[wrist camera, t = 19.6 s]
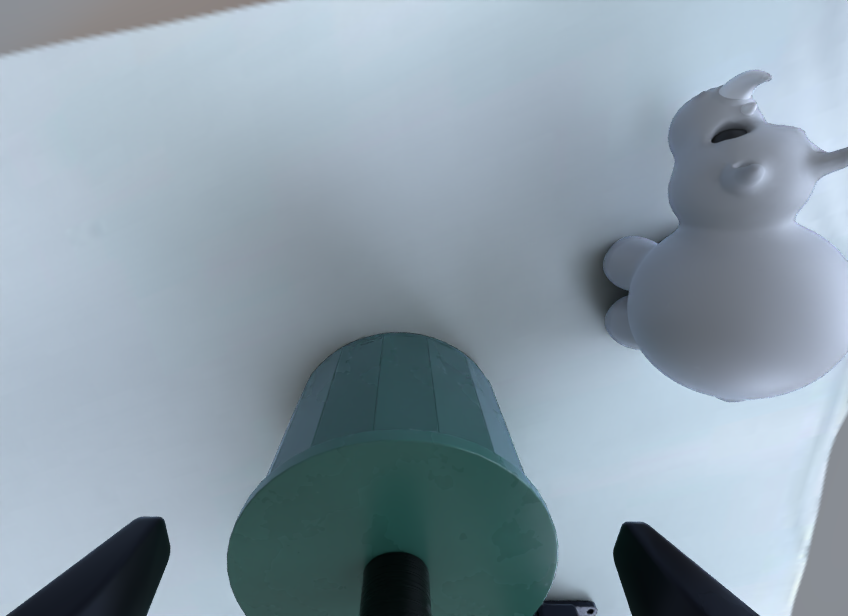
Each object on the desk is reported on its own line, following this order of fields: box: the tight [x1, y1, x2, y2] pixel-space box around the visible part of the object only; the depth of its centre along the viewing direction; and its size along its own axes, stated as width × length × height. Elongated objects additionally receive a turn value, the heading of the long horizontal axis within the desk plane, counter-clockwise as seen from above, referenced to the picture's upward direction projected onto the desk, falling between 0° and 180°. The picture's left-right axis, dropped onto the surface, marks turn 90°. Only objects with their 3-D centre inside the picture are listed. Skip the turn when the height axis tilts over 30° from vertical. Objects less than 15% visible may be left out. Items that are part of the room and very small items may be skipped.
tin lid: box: [227, 429, 558, 616], centre depth 14 cm, size 12×12×5 cm
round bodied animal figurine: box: [603, 70, 848, 402], centre depth 16 cm, size 7×12×8 cm, turn 9°
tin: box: [266, 333, 525, 477], centre depth 19 cm, size 11×11×8 cm
